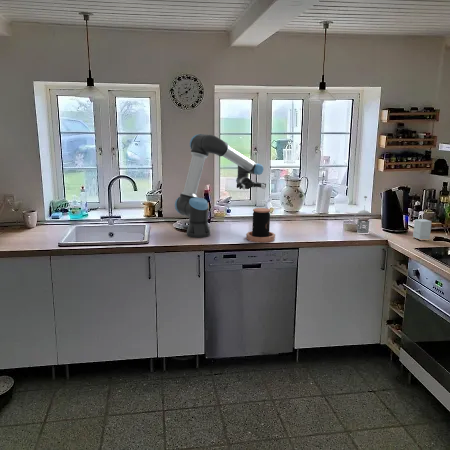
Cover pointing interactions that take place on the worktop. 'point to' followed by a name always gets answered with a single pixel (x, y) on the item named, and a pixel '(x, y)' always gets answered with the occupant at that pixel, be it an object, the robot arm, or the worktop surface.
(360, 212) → the french press
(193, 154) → the robot arm
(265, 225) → the coffee jar
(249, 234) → the round tray
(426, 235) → the supplement box
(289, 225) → the worktop surface
